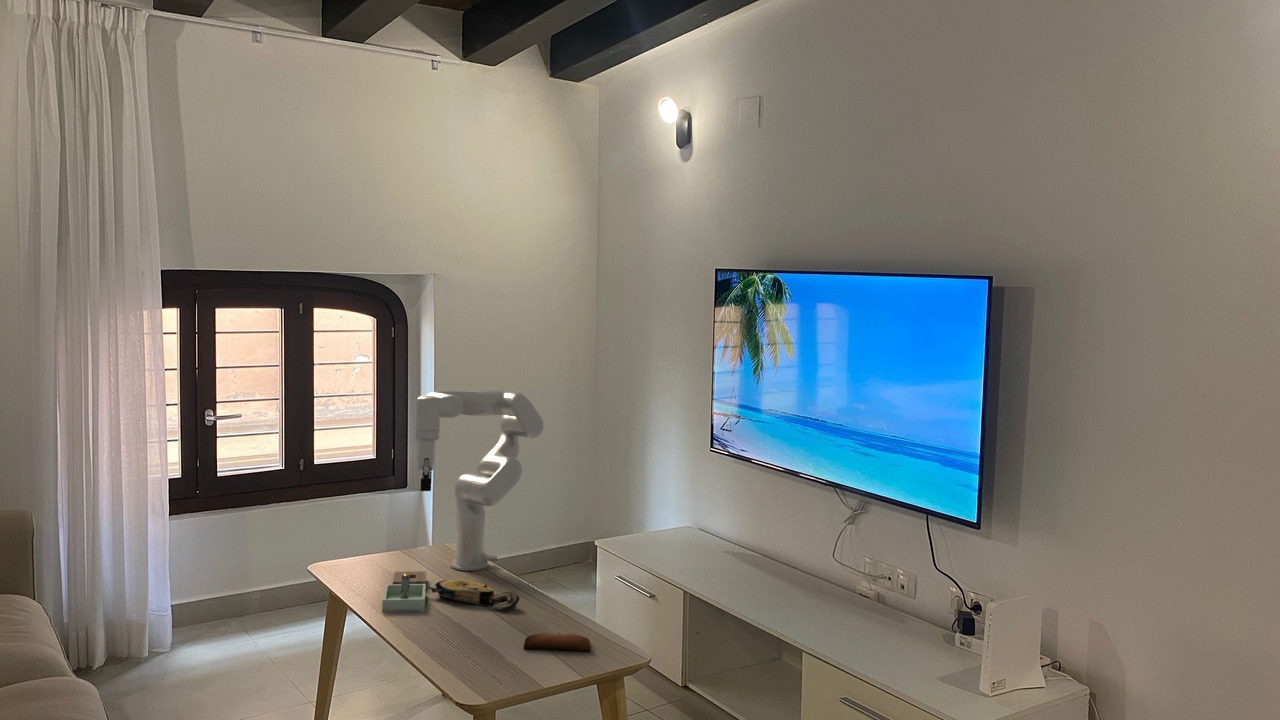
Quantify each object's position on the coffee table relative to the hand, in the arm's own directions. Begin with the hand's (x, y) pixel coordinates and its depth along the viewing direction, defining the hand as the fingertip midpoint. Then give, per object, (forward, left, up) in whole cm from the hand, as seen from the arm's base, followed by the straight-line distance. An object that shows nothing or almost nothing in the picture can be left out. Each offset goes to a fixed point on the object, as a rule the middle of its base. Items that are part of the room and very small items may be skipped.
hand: (425, 487), depth 305 cm
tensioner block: (+4, +6, -30) cm, 31 cm away
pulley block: (-16, +22, -31) cm, 41 cm away
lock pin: (+5, +22, -30) cm, 37 cm away
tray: (+5, +22, -30) cm, 38 cm away
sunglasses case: (-37, +58, -31) cm, 76 cm away
